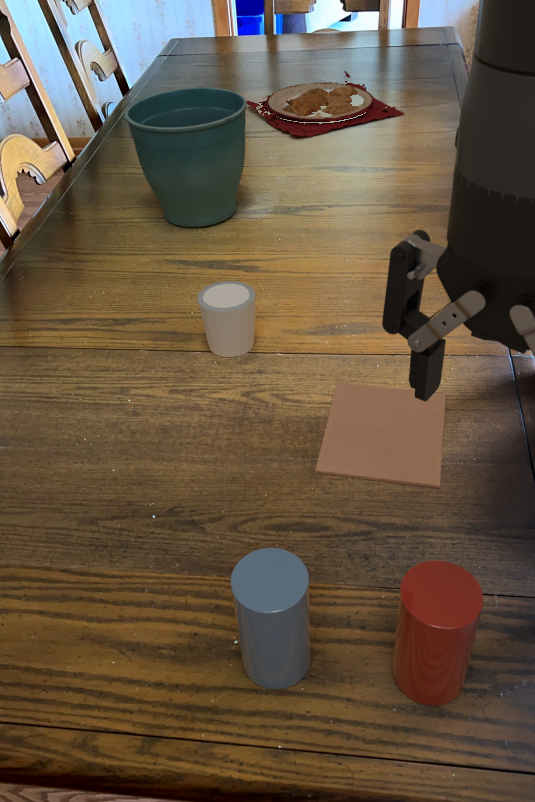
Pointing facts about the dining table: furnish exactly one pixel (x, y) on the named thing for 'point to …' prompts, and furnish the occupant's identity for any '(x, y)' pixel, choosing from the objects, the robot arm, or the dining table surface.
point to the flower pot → (191, 151)
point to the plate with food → (313, 100)
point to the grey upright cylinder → (273, 616)
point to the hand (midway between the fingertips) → (489, 418)
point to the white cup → (228, 317)
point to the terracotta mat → (384, 435)
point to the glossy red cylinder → (435, 631)
